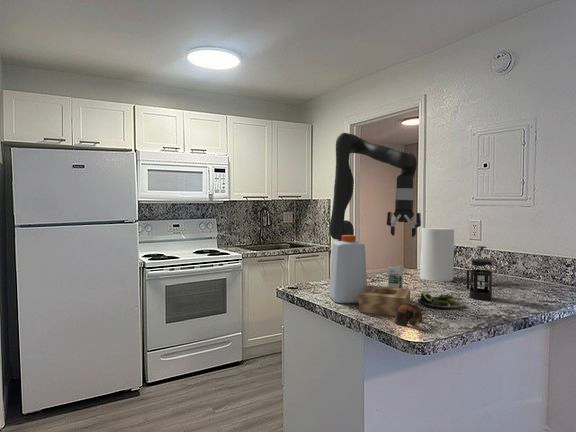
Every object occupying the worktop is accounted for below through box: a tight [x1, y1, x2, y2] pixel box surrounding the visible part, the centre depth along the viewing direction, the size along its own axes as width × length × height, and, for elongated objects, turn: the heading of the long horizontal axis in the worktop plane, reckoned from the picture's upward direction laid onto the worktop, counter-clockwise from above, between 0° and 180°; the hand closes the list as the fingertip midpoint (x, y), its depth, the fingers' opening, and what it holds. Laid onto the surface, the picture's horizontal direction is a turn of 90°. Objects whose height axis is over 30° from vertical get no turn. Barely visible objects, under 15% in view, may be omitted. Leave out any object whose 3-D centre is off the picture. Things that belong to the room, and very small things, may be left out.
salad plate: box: [416, 291, 466, 311], centre depth 168 cm, size 19×18×5 cm
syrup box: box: [387, 265, 404, 288], centre depth 175 cm, size 6×6×14 cm
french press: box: [466, 245, 494, 301], centre depth 179 cm, size 12×9×23 cm
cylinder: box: [419, 227, 455, 282], centre depth 223 cm, size 17×17×28 cm
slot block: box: [358, 284, 411, 317], centre depth 160 cm, size 17×17×7 cm
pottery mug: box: [393, 302, 423, 327], centre depth 141 cm, size 12×10×8 cm
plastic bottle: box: [328, 234, 368, 304], centre depth 175 cm, size 15×15×28 cm
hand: (403, 236), depth 175 cm, fingers open, 8 cm apart
